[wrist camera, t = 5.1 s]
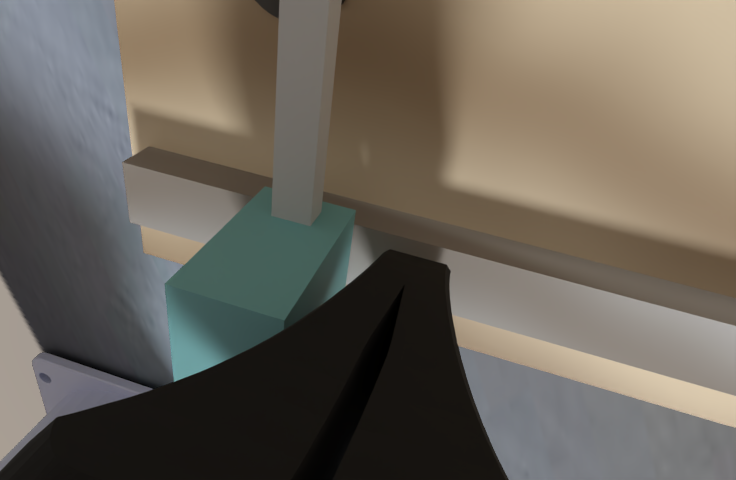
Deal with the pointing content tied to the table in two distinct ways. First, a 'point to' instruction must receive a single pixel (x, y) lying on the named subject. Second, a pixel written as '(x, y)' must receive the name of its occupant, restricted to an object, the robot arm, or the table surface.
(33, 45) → the table surface
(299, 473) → the robot arm
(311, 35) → the slider leg
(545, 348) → the board
